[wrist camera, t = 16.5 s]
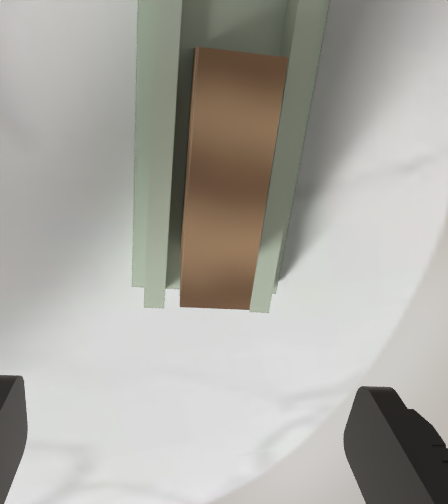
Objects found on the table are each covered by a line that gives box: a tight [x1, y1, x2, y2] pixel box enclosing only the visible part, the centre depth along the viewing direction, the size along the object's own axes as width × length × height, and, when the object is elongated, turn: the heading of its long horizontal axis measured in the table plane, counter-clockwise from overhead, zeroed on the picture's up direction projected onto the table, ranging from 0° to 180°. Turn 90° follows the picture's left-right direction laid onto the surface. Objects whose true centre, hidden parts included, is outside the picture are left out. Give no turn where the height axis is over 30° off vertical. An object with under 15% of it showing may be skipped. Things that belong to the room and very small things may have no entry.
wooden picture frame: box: [180, 47, 288, 310], centre depth 27 cm, size 14×4×9 cm, turn 174°
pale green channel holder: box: [132, 0, 330, 313], centre depth 30 cm, size 22×12×4 cm, turn 174°
